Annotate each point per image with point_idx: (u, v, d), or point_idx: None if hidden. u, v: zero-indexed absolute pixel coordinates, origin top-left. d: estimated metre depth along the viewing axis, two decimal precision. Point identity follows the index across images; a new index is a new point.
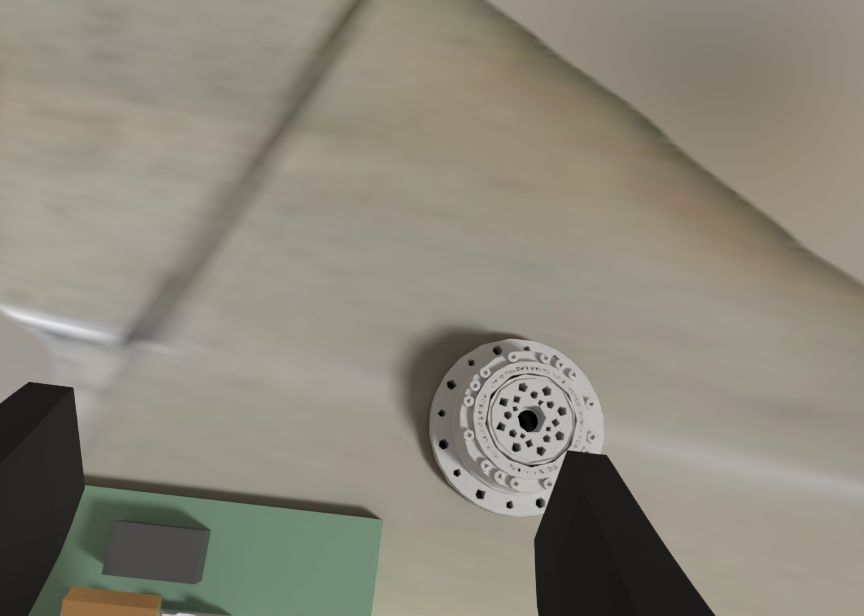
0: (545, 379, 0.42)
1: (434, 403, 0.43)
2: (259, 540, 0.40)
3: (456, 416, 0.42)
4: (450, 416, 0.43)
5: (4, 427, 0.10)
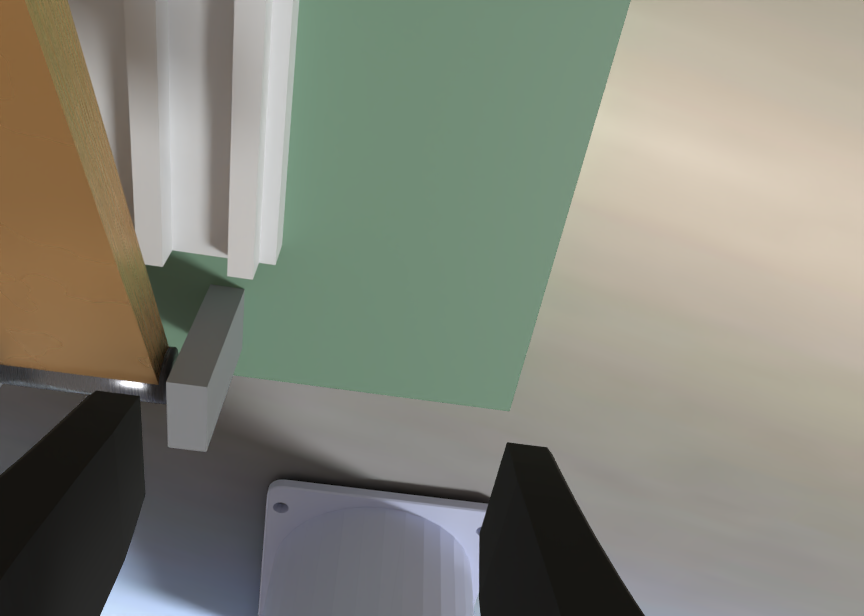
0: None
1: None
2: None
3: None
4: None
5: (79, 436, 0.10)
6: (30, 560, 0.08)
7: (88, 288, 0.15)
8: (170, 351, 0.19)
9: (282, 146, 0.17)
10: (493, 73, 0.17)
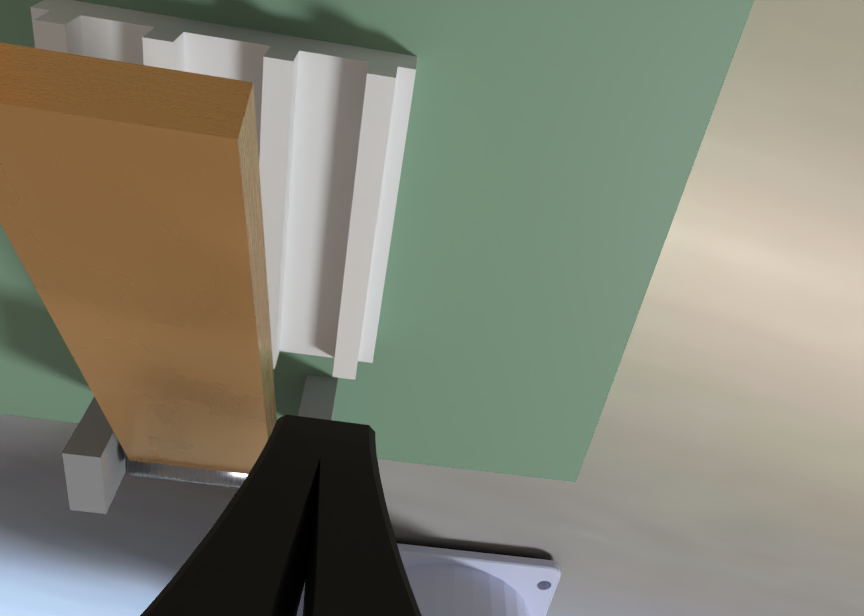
0: None
1: None
2: None
3: None
4: None
5: (290, 462, 0.10)
6: (281, 587, 0.08)
7: (232, 410, 0.17)
8: None
9: (386, 264, 0.19)
10: (577, 195, 0.19)
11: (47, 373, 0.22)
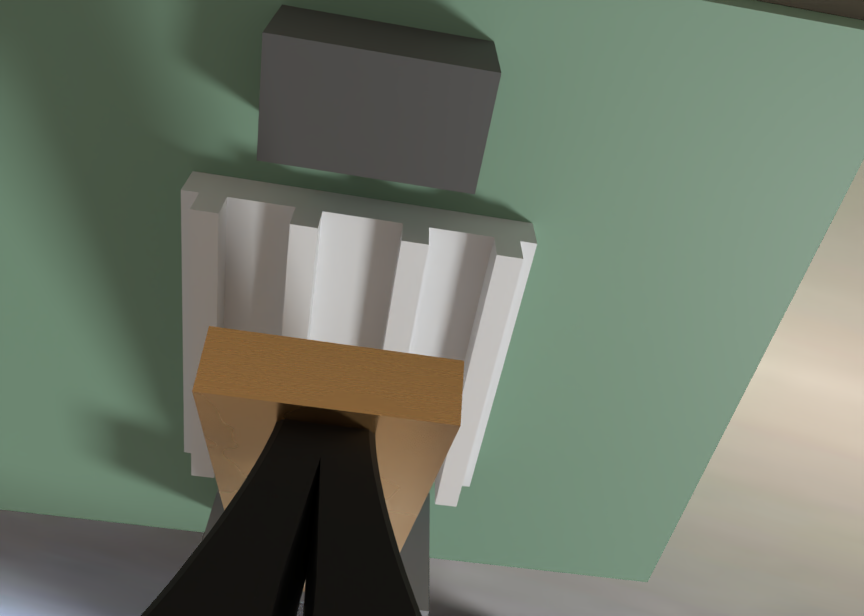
0: None
1: None
2: (608, 73, 0.17)
3: None
4: None
5: (291, 462, 0.10)
6: (281, 587, 0.08)
7: None
8: None
9: (491, 404, 0.20)
10: (671, 340, 0.20)
11: (152, 486, 0.24)
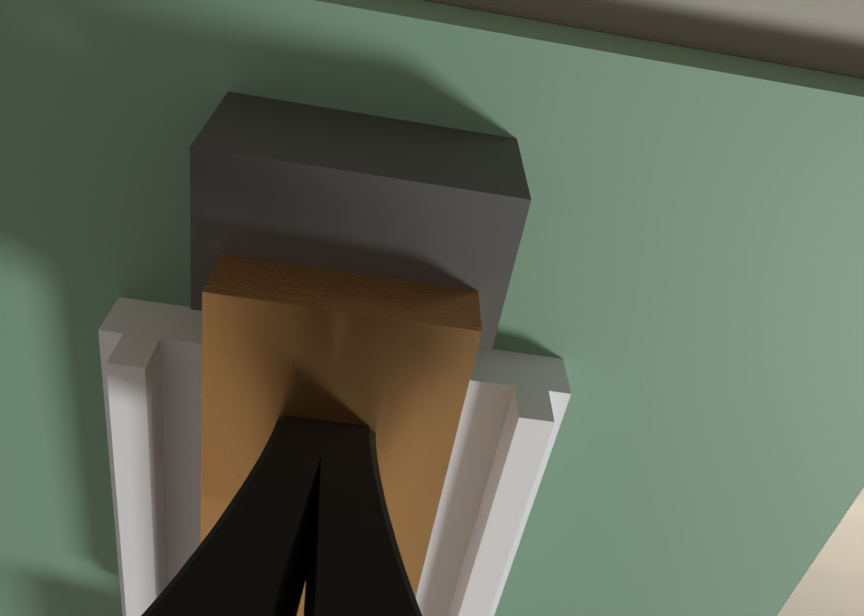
0: None
1: None
2: (669, 179, 0.12)
3: None
4: None
5: (291, 462, 0.10)
6: (281, 587, 0.08)
7: None
8: None
9: (508, 572, 0.16)
10: (735, 491, 0.16)
11: None
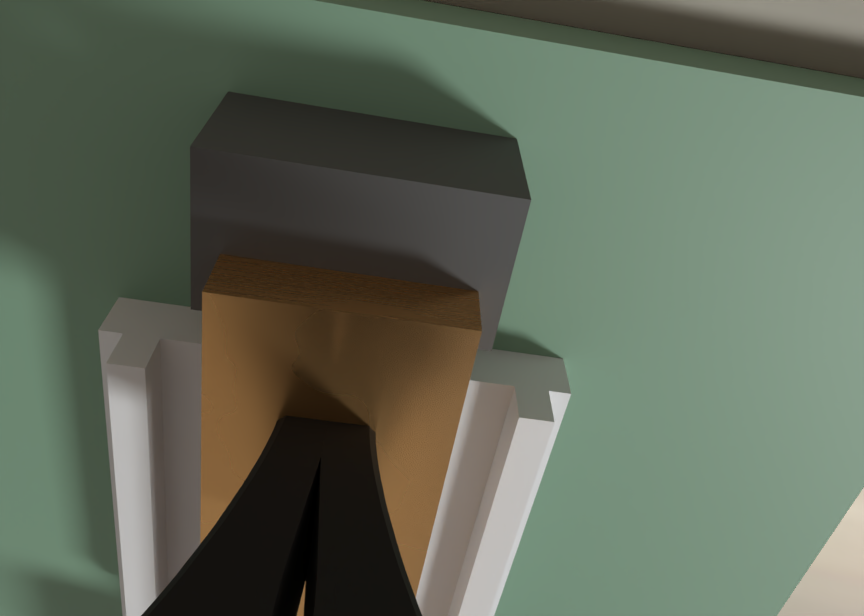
0: None
1: None
2: (669, 179, 0.12)
3: None
4: None
5: (291, 462, 0.10)
6: (281, 587, 0.08)
7: None
8: None
9: (508, 572, 0.16)
10: (735, 491, 0.16)
11: None
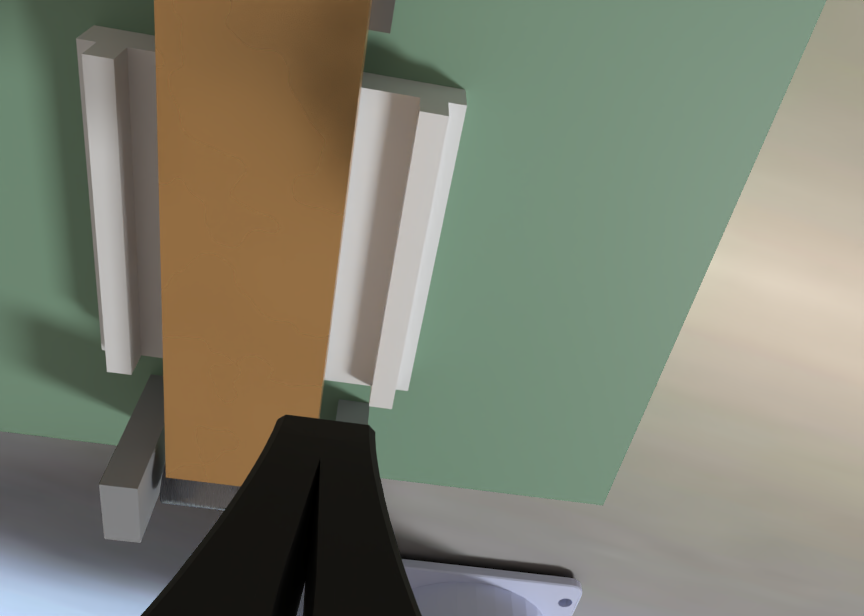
0: None
1: None
2: None
3: None
4: None
5: (291, 462, 0.10)
6: (281, 587, 0.08)
7: (293, 368, 0.18)
8: None
9: (426, 295, 0.19)
10: (619, 228, 0.19)
11: (76, 395, 0.22)
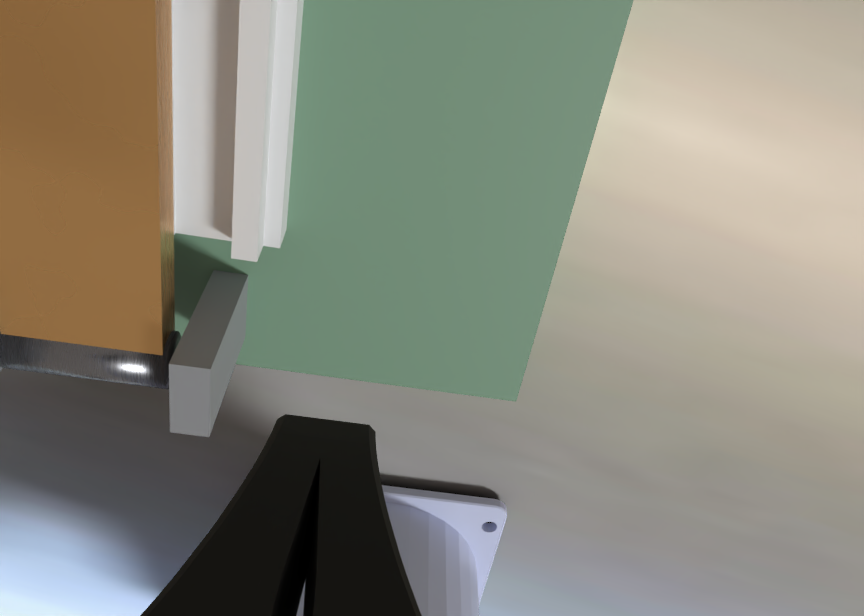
0: None
1: None
2: None
3: None
4: None
5: (291, 462, 0.10)
6: (281, 587, 0.08)
7: (124, 189, 0.16)
8: (176, 331, 0.19)
9: (287, 125, 0.17)
10: (501, 51, 0.17)
11: None
